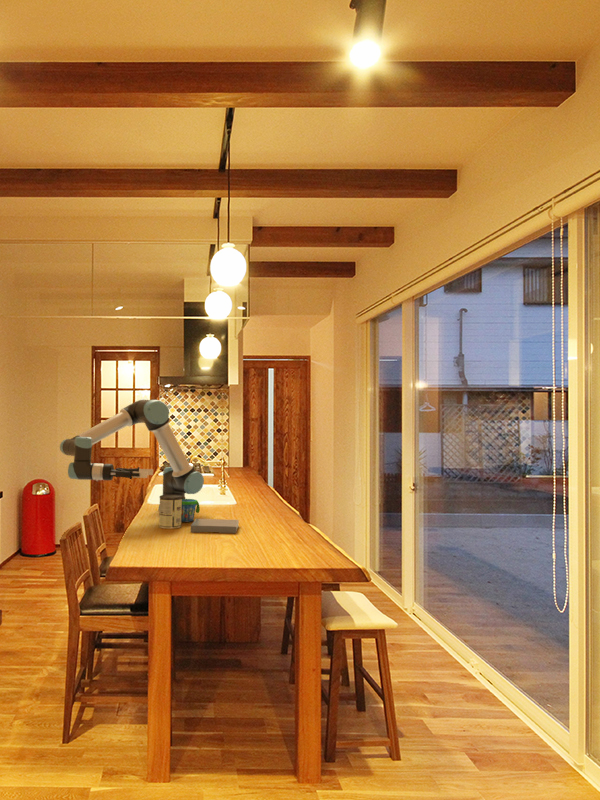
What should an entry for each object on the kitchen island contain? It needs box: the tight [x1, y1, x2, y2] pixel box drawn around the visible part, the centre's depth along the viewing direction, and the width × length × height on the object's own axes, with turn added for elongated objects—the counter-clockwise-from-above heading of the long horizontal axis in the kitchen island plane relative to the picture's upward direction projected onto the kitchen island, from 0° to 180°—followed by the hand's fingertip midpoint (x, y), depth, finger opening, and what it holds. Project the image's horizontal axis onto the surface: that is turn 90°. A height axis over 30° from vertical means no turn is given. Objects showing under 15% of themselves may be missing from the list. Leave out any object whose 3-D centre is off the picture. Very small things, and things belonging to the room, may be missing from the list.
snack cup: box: [181, 498, 201, 523], centre depth 321 cm, size 16×10×10 cm
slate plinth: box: [190, 518, 240, 534], centre depth 303 cm, size 18×20×3 cm
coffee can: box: [158, 494, 182, 530], centre depth 305 cm, size 10×10×14 cm
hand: (150, 473), depth 305 cm, fingers open, 13 cm apart
